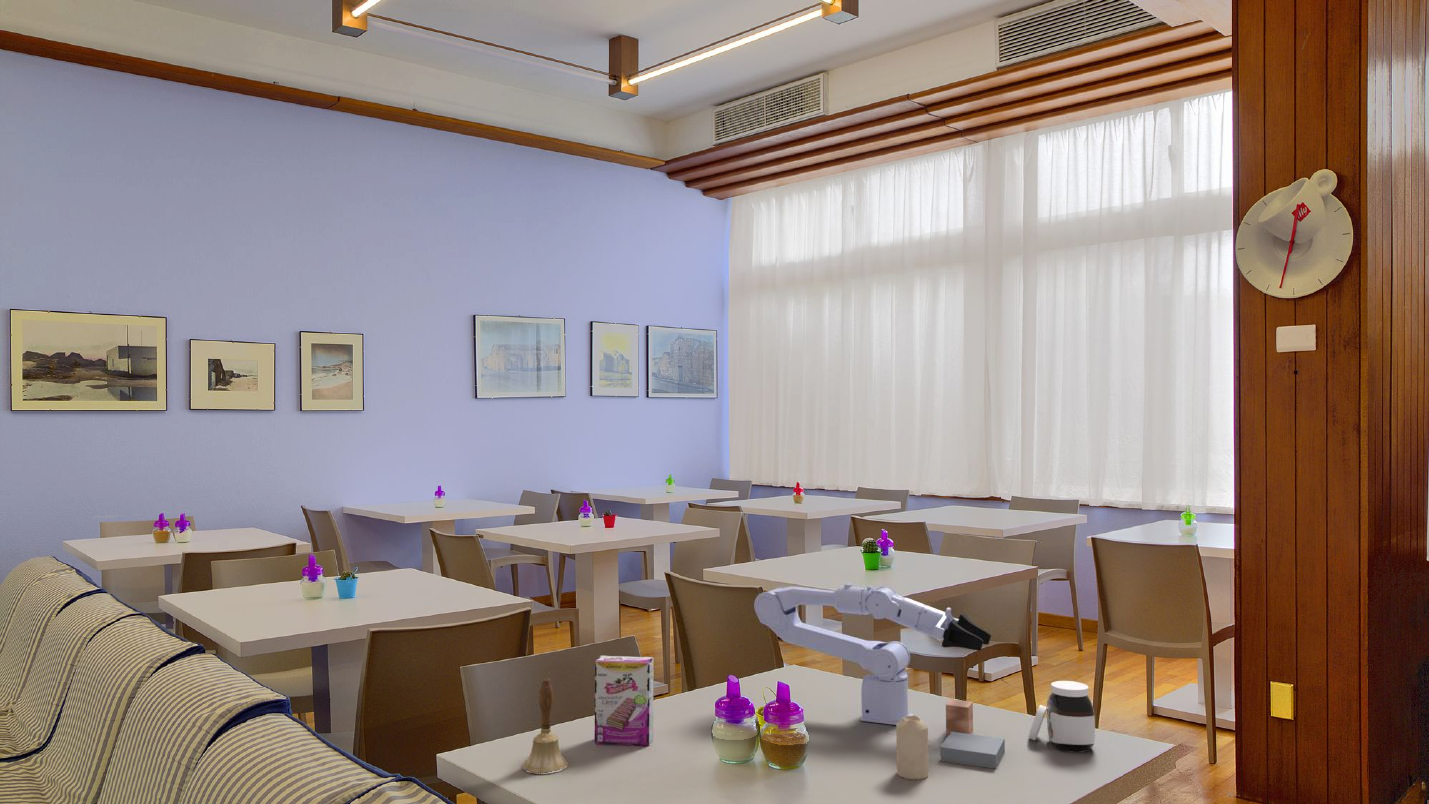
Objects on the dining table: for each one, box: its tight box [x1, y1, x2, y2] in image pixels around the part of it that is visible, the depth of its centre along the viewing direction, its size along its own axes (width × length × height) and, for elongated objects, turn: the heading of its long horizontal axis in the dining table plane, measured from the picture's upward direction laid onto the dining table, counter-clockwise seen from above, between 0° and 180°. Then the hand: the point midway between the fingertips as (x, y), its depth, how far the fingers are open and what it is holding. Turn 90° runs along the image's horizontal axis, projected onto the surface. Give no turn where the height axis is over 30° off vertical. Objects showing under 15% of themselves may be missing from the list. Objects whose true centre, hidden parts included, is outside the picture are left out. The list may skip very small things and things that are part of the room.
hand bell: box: [521, 678, 569, 775], centre depth 173 cm, size 8×8×16 cm
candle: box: [895, 715, 929, 780], centre depth 168 cm, size 6×6×10 cm
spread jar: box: [1028, 680, 1096, 753], centre depth 183 cm, size 12×11×12 cm
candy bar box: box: [594, 655, 655, 747], centre depth 187 cm, size 11×5×16 cm, turn 84°
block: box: [945, 698, 974, 736], centre depth 191 cm, size 4×4×6 cm
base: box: [939, 732, 1006, 769], centre depth 177 cm, size 10×10×2 cm
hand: (985, 642), depth 191 cm, fingers open, 7 cm apart
